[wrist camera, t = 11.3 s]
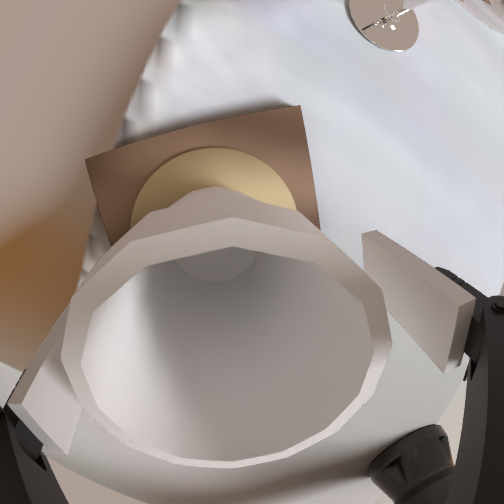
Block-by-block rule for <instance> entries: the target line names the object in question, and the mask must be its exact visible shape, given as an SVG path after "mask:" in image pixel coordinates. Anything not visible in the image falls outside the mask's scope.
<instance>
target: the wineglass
mask: <svg viewBox="0 0 504 504" xmlns="http://www.w3.org/2000/svg"><path fill="white" fill-rule="evenodd" d="M430 1H433V0H349V11H350V14H351V17H352V20H353V22H354V23H355V25H356V27H357V28H358V29H359V31H360V32H361V33H362V34H363V35H364V36H365V37H366V38H367V39H368V40H369V41H370V42H372V43H373V44H375V45H376V46H378V47H380V48H382V49H385V50H388V51H393V52H400V51H405V50H407V49H409V48H411V47H412V46H413V45H414V44H415V42H416V40H417V38H418V33H419V27H418V21H417V18H416V15H415V13H414V11H413V8H416V7H418V6H420V5H423V4H425V3H428V2H430ZM455 1H457V2H458V3H459V4H460V5H461V6H462V7H463V8H465V9H466V10H467V11H468V12H469V13H471V14H472V15H473V16H474V17H476V18H477V19H478V20H480V21H481V22H482V23H484V24H485V25H487V26H488V27H490V28H492V29H493V30H495V31H497V32H499V33H501V34H503V35H504V0H455Z"/></svg>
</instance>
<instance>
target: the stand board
mask: <svg viewBox="0 0 504 504" xmlns="http://www.w3.org/2000/svg"><path fill="white" fill-rule="evenodd" d="M85 162H86V166H87V170H88V173H89V177H90V180H91V184H92V188H93V191H94V194H95V198H96V201H97V204H98V207H99V211H100V214H101V217H102V220H103V223H104V226H105V229H106V232H107V235H108V238H109V240H110V243H111V246H113V245H114V244H115V243H116V242H117V241H118V240H119V239H121V238H122V237H123V236H124V235H125V234H126V233H127V232H128V231H129V230H130V229H132V228H133V227H134V226H135V225H136V224H137V223H138V222H139V221H140V220H142V219H143V218H144V217H145V216H146V215H147V214H148V213H150V212H153V211H157V210H161V209H165V208H168V207H170V206H171V205H173V204H174V203H175V202H177V201H178V200H180V199H181V198H182V197H184V196H185V195H187V194H188V193H190V192H192V191H195V190H199V189H203V188H207V187H212V186H218V187H222V188H227V189H231V190H235V191H239V192H241V193H244V194H246V195H248V196H250V197H252V198H255V199H257V200H259V201H261V202H263V203H267V204H271V205H275V206H279V207H283V208H287V209H291V210H295V211H299V212H300V213H301V214H302V215H304V216H305V217H306V218H307V219H308V220H309V221H310V222H311V223H312V224H314V225H315V226H316V227H317V228H318V229H319V230H320V222H319V215H318V207H317V200H316V193H315V187H314V180H313V174H312V167H311V161H310V155H309V149H308V144H307V138H306V133H305V127H304V122H303V116H302V111H301V106H300V105H298V106H291V107H284V108H278V109H272V110H266V111H260V112H254V113H249V114H244V115H239V116H234V117H229V118H224V119H220V120H215V121H211V122H206V123H202V124H198V125H194V126H190V127H186V128H182V129H178V130H175V131H171V132H167V133H164V134H160V135H157V136H153V137H150V138H147V139H144V140H140V141H137V142H134V143H131V144H128V145H125V146H122V147H119V148H116V149H113V150H110V151H107V152H104V153H101V154H99V155H96V156H93V157H91V158H88V159H85ZM320 231H321V230H320Z"/></svg>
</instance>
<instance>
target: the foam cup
mask: <svg viewBox="0 0 504 504" xmlns="http://www.w3.org/2000/svg"><path fill="white" fill-rule="evenodd" d="M391 346H392V340H391V334H390V328H389V322H388V317H387V312H386V306H385V301H384V296H383V292H382V289H381V288H380V287H379V286H378V285H377V284H376V283H375V282H374V281H373V280H372V279H371V278H370V277H369V276H368V275H367V274H366V273H365V272H364V271H363V270H362V269H361V268H360V267H359V266H358V265H357V264H356V263H355V262H354V261H353V260H351V259H350V258H349V257H348V256H347V255H346V254H345V253H344V252H343V251H342V250H341V249H340V248H339V247H338V246H337V245H335V244H334V243H333V242H332V241H331V240H330V239H329V238H328V237H327V236H326V235H325V234H324V233H322V232H321V231H320V230H319V229H318V228H317V227H316V226H315V225H314V224H312V223H311V222H310V221H309V220H308V219H307V218H306V217H305V216H304V215H302V214H301V213H300V212H299V211H295V210H291V209H287V208H283V207H279V206H275V205H271V204H267V203H263V202H261V201H259V200H257V199H255V198H252V197H250V196H248V195H246V194H244V193H241V192H239V191H235V190H231V189H227V188H222V187H218V186H212V187H207V188H203V189H199V190H195V191H192V192H190V193H188V194H187V195H185V196H184V197H182V198H181V199H180V200H178V201H177V202H175V203H174V204H173V205H171V206H170V207H168V208H165V209H161V210H157V211H153V212H150V213H148V214H147V215H146V216H145V217H144V218H143V219H142V220H140V221H139V222H138V223H137V224H136V225H135V226H134V227H133V228H132V229H130V230H129V231H128V232H127V233H126V234H125V235H124V236H123V237H122V238H121V239H119V240H118V241H117V242H116V243H115V244H114V245H113V246H112V247H111V248H110V249H109V250H108V251H107V252H106V253H105V254H104V255H103V256H101V257H100V258H99V260H98V261H97V263H96V264H95V265H94V267H93V268H92V269H91V271H90V272H89V273H88V275H87V276H86V278H85V279H84V280H83V282H82V283H81V285H80V286H79V288H78V289H77V290H76V292H75V293H74V295H73V297H72V298H71V302H70V307H69V312H68V317H67V322H66V328H65V333H64V339H63V346H62V352H61V360H62V363H63V366H64V368H65V370H66V373H67V375H68V378H69V380H70V382H71V385H72V387H73V389H74V391H75V394H76V396H77V398H78V400H79V402H80V404H81V406H82V408H83V409H84V410H85V411H86V412H87V413H88V414H89V415H90V416H91V417H92V418H93V419H94V420H96V421H97V422H98V423H99V424H100V425H101V426H102V427H104V428H105V429H106V430H107V431H108V432H110V433H111V434H112V435H113V436H114V437H116V438H117V439H118V440H119V441H121V442H122V443H123V444H124V445H127V446H129V447H131V448H134V449H136V450H139V451H141V452H144V453H146V454H149V455H151V456H154V457H157V458H159V459H162V460H165V461H168V462H171V463H174V464H177V465H186V466H197V467H211V468H238V467H244V466H250V465H255V464H260V463H265V462H269V461H274V460H278V459H283V458H287V457H289V456H291V455H293V454H295V453H297V452H299V451H301V450H303V449H305V448H307V447H309V446H311V445H313V444H315V443H317V442H319V441H321V440H323V439H324V438H326V437H328V436H330V435H332V434H333V433H335V432H337V431H338V430H339V429H340V428H341V427H342V426H343V425H344V424H345V423H346V422H347V421H348V420H349V419H350V418H351V417H352V416H353V415H354V414H355V413H356V412H357V411H358V410H359V409H360V408H361V406H362V405H363V404H364V403H365V402H366V401H367V400H368V399H369V398H370V397H371V396H372V395H373V393H374V391H375V389H376V386H377V384H378V381H379V379H380V376H381V374H382V371H383V368H384V366H385V363H386V360H387V358H388V355H389V352H390V349H391Z"/></svg>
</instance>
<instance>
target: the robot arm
mask: <svg viewBox="0 0 504 504" xmlns="http://www.w3.org/2000/svg"><path fill="white" fill-rule="evenodd" d="M362 247H363V264H364V272H365V273H366V274H367V275H368V276H369V277H370V278H371V279H372V280H373V281H374V282H375V283H376V284H377V285H378V286H379V287H380V288H381V289H382V292H383V296H384V301H385V306H386V310H387V311H388V312H389V313H390V314H391V315H392V317H393V318H394V319H395V320H396V321H397V322H398V323H399V324H400V325H401V326H402V327H403V328H404V330H405V331H406V332H407V333H408V334H409V335H410V336H411V337H412V338H413V339H414V341H415V342H416V343H417V344H418V345H419V346H420V347H421V348H422V350H423V351H424V352H425V353H426V354H427V355H428V356H429V357H430V359H431V360H432V361H433V362H434V363H435V364H436V365H437V367H438V368H439V369H440V370H441V371H442V372H443V374H445V373H447V372H449V371H450V370H452V369H454V368H456V367H458V366H460V364H461V361H462V357H463V354H464V352H465V353H466V354H467V355H468V356H469V357H470V360H469V363H468V366H467V370H466V373H465V376H464V379H463V381H466V378H467V389H466V400H465V409H464V417H463V425H462V432H461V438H460V444H459V449H458V454H457V460H456V464H455V465H454V464H453V460H452V455H451V450H450V446H449V441H448V436H447V434H446V432H445V431H444V429H443V428H442V427H441V426H440V425H431V426H428V427H425V428H422V429H420V430H418V431H416V432H414V433H412V434H410V435H408V436H406V437H404V438H403V439H401V440H399V441H398V442H396V443H395V444H393V445H392V446H390V447H389V448H388V449H386V450H385V451H384V452H382V453H381V454H380V455H379V456H378V457H377V458H376V459H375V460H374V461H373V462H372V463H371V465H370V466H369V468H368V473H369V475H370V478H371V480H372V481H373V483H374V484H376V485H377V486H378V487H379V488H380V489H381V490H382V491H383V492H384V493H385V494H386V495H387V496H388V497H389V498H391V499H392V501H393V502H394V504H504V296H491V297H489V298H488V297H486V296H485V295H483V294H482V293H481V292H479V291H478V290H477V289H475V288H474V287H472V286H471V285H469V284H468V283H467V282H466V283H465V281H464V280H462V279H461V278H458V276H456V275H455V274H453V273H452V272H451V271H449V270H446V269H443V268H440V267H436V268H434V267H432V266H431V265H429V264H428V263H426V262H425V261H423V260H422V259H420V258H419V257H417V256H416V255H414V254H413V253H411V252H410V251H408V250H407V249H405V248H404V247H402V246H401V245H399V244H397V243H396V242H394V241H393V240H391V239H390V238H388V237H386V236H385V235H383V234H382V233H380V232H378V231H377V230H374V231H370V232H366V233H362ZM69 307H70V304H68V306H67V307H66V308H65V310H64V311H63V313H62V314H61V316H60V317H59V319H58V320H57V322H56V323H55V325H54V326H53V328H52V329H51V331H50V332H49V334H48V335H47V337H46V338H45V340H44V341H43V343H42V345H41V346H40V348H39V349H38V351H37V353H36V354H35V356H34V357H33V359H32V361H31V362H30V364H29V366H28V367H27V368H26V369H25V370H24V372H23V374H22V375H21V377H20V379H19V380H20V381H18V382H17V384H16V388H14V389H13V391H12V393H11V395H10V397H9V398H8V400H7V402H6V404H5V406H4V408H3V409H2V408H1V406H0V504H69V503H68V501H67V499H66V498H65V496H64V494H63V492H62V490H61V488H60V486H59V484H58V482H57V480H56V478H55V475H54V473H53V471H52V469H51V467H50V464H49V462H48V460H47V458H46V456H45V455H44V454H43V453H42V452H41V450H42V447H43V445H44V446H45V447H46V448H47V449H48V450H49V451H50V452H51V453H52V454H55V455H67V456H68V453H69V449H70V446H71V443H72V439H73V436H74V433H75V429H76V426H77V423H78V420H79V417H80V414H81V411H82V406H81V404H80V402H79V400H78V398H77V396H76V394H75V391H74V389H73V387H72V385H71V382H70V380H69V378H68V375H67V373H66V370H65V368H64V366H63V363H62V360H61V352H62V346H63V339H64V333H65V328H66V322H67V317H68V312H69Z"/></svg>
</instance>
